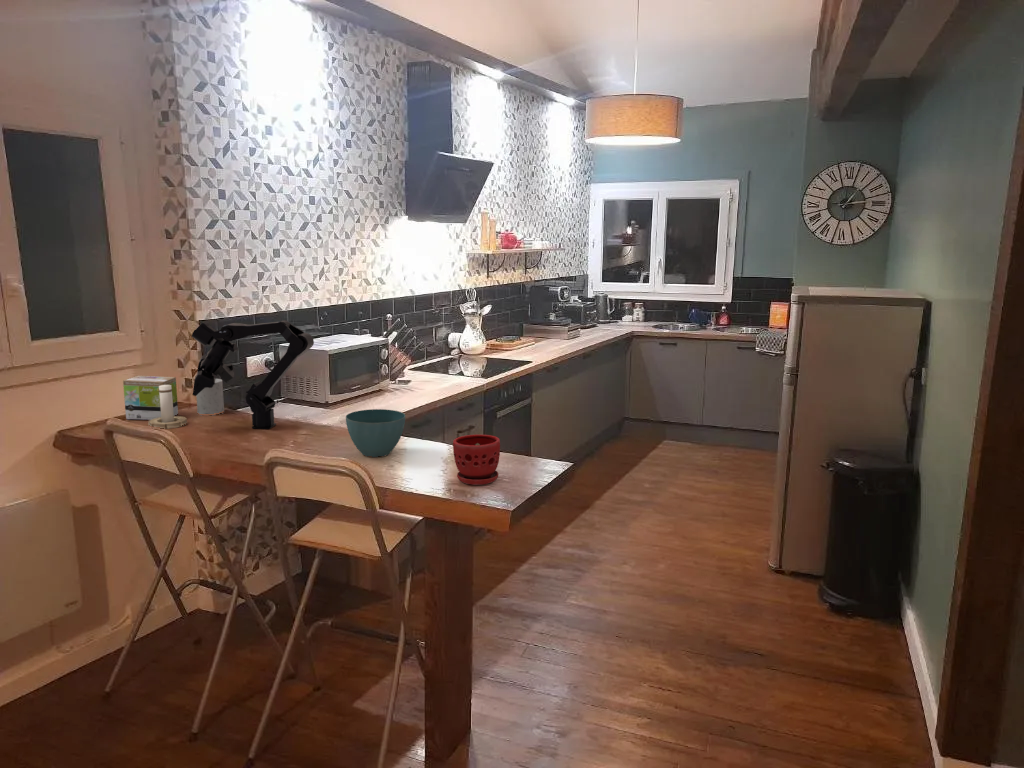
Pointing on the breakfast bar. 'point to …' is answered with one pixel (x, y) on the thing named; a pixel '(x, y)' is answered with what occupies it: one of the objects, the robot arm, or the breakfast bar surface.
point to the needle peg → (166, 403)
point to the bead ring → (177, 422)
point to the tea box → (146, 396)
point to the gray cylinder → (211, 399)
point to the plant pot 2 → (477, 458)
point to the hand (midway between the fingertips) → (195, 389)
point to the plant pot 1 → (375, 430)
